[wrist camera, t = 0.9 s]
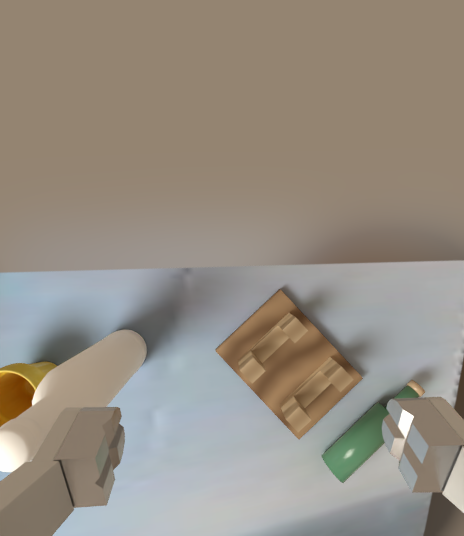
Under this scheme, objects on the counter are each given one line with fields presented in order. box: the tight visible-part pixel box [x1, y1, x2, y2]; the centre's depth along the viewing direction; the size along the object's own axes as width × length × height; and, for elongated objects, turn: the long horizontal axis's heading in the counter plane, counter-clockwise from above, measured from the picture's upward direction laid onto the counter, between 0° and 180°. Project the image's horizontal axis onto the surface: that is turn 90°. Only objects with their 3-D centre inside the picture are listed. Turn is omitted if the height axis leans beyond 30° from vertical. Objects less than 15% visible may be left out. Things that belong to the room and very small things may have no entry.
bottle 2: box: [322, 380, 425, 483], centre depth 53 cm, size 21×5×5 cm, turn 133°
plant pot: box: [0, 362, 57, 427], centre depth 49 cm, size 10×10×10 cm
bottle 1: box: [0, 329, 147, 472], centre depth 39 cm, size 8×8×30 cm
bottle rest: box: [216, 289, 363, 439], centre depth 52 cm, size 22×16×6 cm
